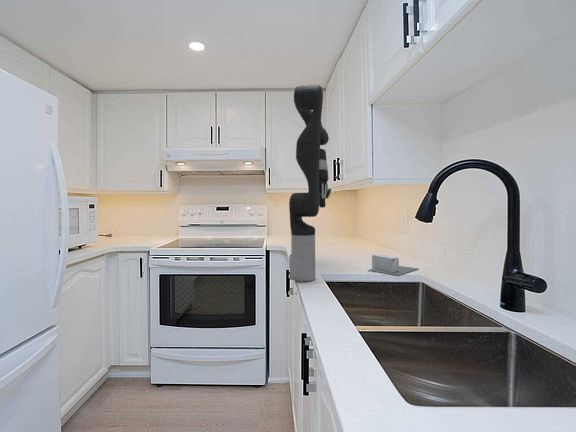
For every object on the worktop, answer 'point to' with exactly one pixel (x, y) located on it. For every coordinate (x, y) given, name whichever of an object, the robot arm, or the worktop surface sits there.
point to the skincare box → (385, 263)
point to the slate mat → (401, 271)
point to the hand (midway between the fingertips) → (322, 207)
